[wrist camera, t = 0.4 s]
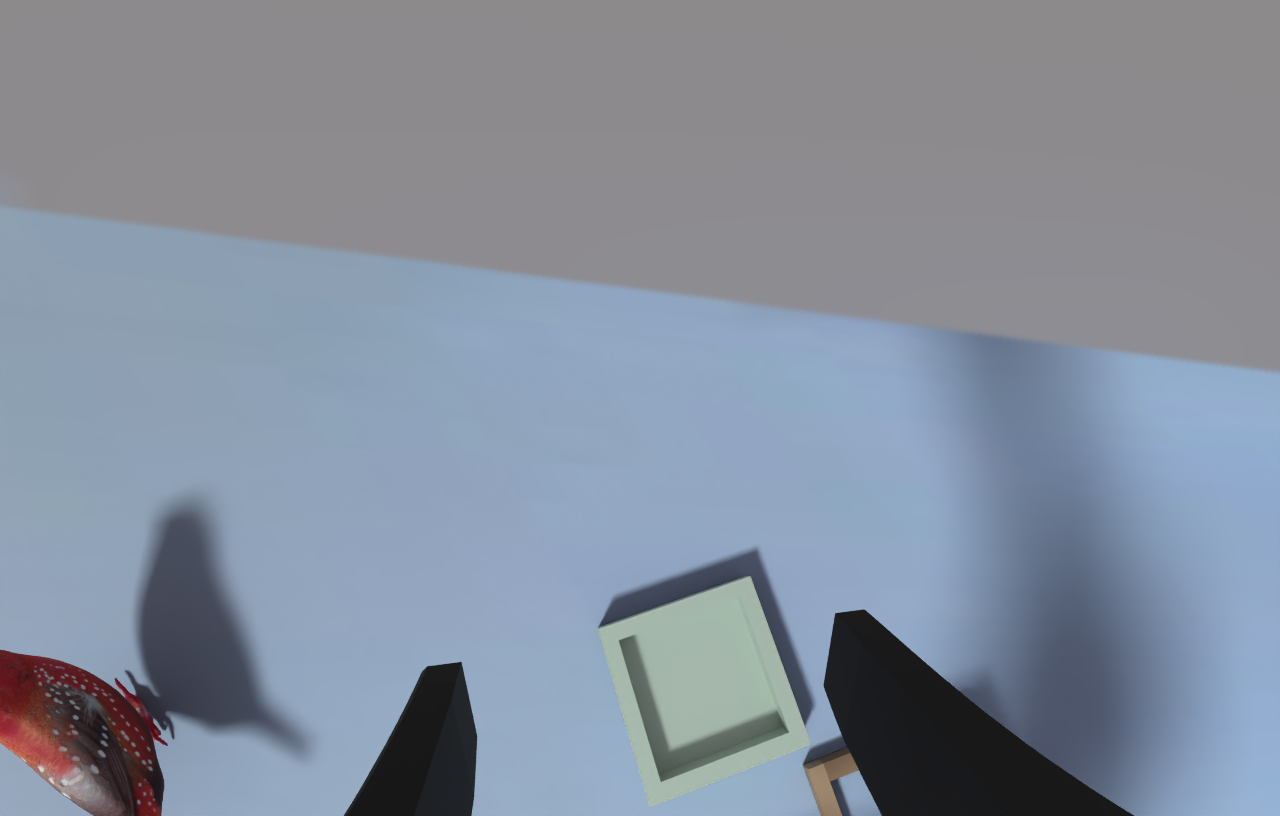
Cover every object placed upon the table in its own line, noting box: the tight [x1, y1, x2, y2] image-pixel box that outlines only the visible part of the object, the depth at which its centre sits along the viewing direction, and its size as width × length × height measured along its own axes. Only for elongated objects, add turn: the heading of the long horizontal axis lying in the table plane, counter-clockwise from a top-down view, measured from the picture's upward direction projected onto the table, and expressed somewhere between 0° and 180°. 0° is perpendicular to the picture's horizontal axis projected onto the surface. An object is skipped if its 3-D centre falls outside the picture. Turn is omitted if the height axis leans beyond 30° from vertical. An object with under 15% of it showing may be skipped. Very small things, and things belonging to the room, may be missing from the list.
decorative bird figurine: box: [0, 650, 168, 816], centre depth 31 cm, size 3×18×10 cm, turn 45°
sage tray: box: [598, 576, 811, 807], centre depth 37 cm, size 10×10×2 cm
